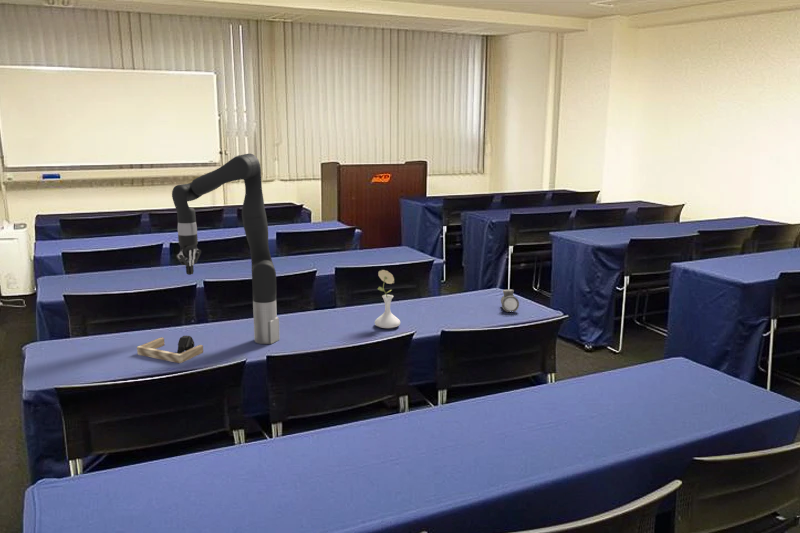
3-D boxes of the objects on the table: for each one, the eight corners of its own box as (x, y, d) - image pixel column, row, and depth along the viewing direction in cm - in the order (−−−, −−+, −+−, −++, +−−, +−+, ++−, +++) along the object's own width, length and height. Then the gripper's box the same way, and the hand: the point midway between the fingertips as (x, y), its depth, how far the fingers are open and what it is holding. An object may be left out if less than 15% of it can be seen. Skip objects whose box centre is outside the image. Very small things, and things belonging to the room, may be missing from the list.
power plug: (169, 358, 239) (178, 331, 247) (174, 370, 245) (183, 343, 253) (184, 359, 239) (192, 332, 247) (189, 370, 245) (198, 343, 253)
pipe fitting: (519, 312, 303) (518, 291, 302) (502, 313, 304) (501, 292, 302) (515, 308, 315) (514, 287, 314) (499, 309, 316) (498, 288, 314)
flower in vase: (405, 327, 281) (406, 272, 275) (383, 332, 274) (383, 275, 269) (389, 319, 291) (389, 266, 286) (367, 324, 285) (367, 269, 279)
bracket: (203, 352, 248) (202, 345, 247) (180, 363, 237) (179, 355, 236) (161, 344, 256) (161, 337, 256) (137, 354, 245) (136, 347, 244)
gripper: (183, 236, 255) (186, 278, 259) (205, 231, 267) (208, 271, 271) (168, 234, 258) (171, 276, 262) (191, 229, 270) (194, 270, 274)
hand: (190, 274), depth 266 cm, fingers closed
